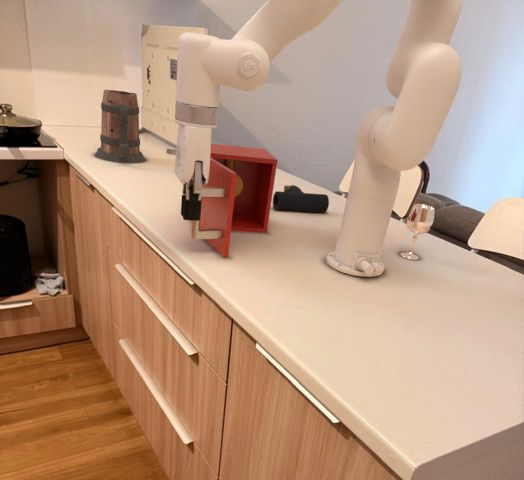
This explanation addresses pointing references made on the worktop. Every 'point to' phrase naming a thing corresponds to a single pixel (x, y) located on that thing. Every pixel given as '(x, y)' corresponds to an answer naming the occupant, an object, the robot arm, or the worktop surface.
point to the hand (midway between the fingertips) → (190, 217)
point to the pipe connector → (299, 200)
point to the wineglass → (419, 224)
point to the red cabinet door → (216, 208)
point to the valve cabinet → (250, 185)
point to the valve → (239, 183)
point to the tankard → (120, 128)
